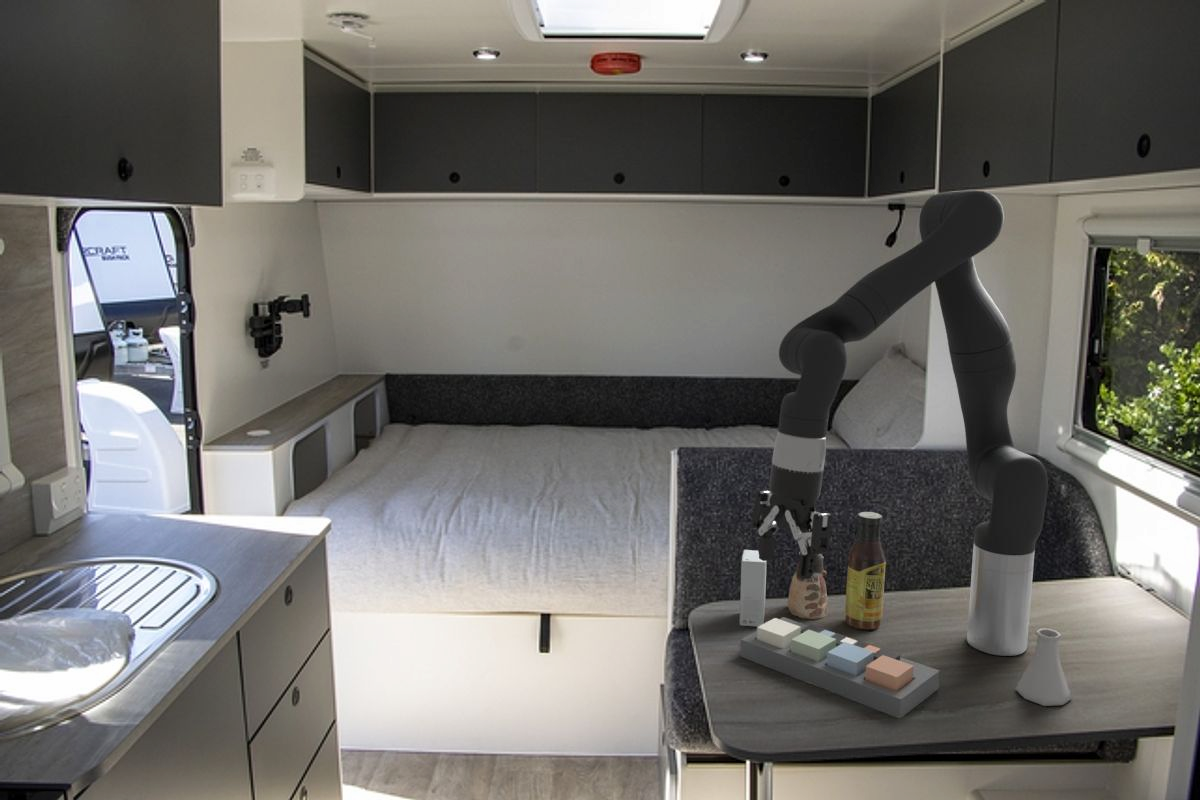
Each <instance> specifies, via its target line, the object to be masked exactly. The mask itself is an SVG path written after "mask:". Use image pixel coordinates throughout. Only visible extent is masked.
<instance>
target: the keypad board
mask: <svg viewBox="0 0 1200 800" xmlns="http://www.w3.org/2000/svg"><path fill="white" fill-rule="evenodd" d="M779 619H780V620H783V621H786V622H789V623H792V624H794V625H797V626H800V627H801V634H802V633H804V632H805V631H807V630H812V631H815V632H818V633H820V634H823V635H826V636H829V637H832V638H835V639H836V647H837V646H839V645H840V644H842V643H844V642H847V643H849V644H852V645H855V646H858V647H861V648H864V649H867V650H870V651H873V652H874V658H873V661H874V660H876V659H878V658H879V657H881V656H882V655H884V656H887V657H890V658H893V659H896V660H899V661H902V662H904V663H907V664H910V665H913V666H914V669H913V681H911V682H910V683H908V684H907V685H906V686H904V687H903V688H902V689H900V690H899V691H898V692H897V691H894V690H892V689H889V688H886V687H884V686H881V685H878V684H875V683H873V682H870V681H867V680H865V674H866V671H865V672H863V673H862V674H860V675H859V676H854V675H851V674H848V673H846V672H843V671H840V670H838V669H835V668H832V667H830V666H827V658H826V659H824V660H823V661H821V662H816V661H813V660H811V659H808V658H805V657H802V656H800V655H797V654H794V653H792V652H791V645H790V646H789V647H787V648H785V649H781V648H778V647H775V646H773V645H770V644H767V643H765V642H762V641H759V640H757V630H755V631H754V632H751V633H750V634H747V635H746V636H745V637H743V638H741V639H740V652H739V655H740V656H739V657H740V658H744V659H745V660H749V661H751V662H754V663H755V664H759V665H761V666H764V667H767V668H769V669H772V670H774V671H777V672H779V673H782V674H784V675H786V676H789V675H790V677H793V678H794V677H795V678H794V679H797V678H798V679H797V680H799V679H800V681H802V680H803V681H802V682H804V681H807V682H810V683H812V684H815V685H817V686H819V687H818V688H820V687H821V688H820V689H822V688H824V689H823V690H825V689H827V690H826V691H828V690H829V691H828V692H830V691H831V693H833V694H835V693H836V694H835V695H838V694H839V695H838V696H840V695H841V696H840V697H843V698H846V699H848V700H851V701H854V702H856V703H859V704H861V705H864V706H867V707H869V708H871V709H874V710H876V711H878V712H882V713H884V714H887V715H889V716H891V717H895V718H897V719H899V720H900V719H901V718H902V717H904V716H905V715H907V714H908V713H910V712H911V711H912V710H913V709H914V708H915V707H917V706H918V705H919V704H922V702H924V701H925V700H927V698H928V697H930V696H932V695H934V693H935V692H936V691H938V690H939V687H940V686H939V685H940V673H941V672H940V670H939V669H937V668H933V667H931V666H928V665H925V664H922V663H919V662H915V661H913V660H910V659H907V658H904V657H901V654H899V653H896V652H893V651H890V650H888V649H884V648H881V647H880V646H876V645H873V644H870V643H868V642H865V641H860V640H859V639H854V638H852V637H849V636H847V635H843V634H840V633H837V632H834V631H831V630H829V629H826V628H823V627H820V626H817V625H814V624H809V625H808V624H804V623H801V622H799V621H796V620H793V619H791V618H788V617H783V616H781V617H780V618H779ZM807 682H806V683H807ZM810 683H809V684H810ZM812 684H811V685H812ZM815 685H814V686H815ZM817 686H816V687H817Z"/></svg>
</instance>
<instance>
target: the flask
mask: <svg viewBox="0 0 1200 800" xmlns="http://www.w3.org/2000/svg"><path fill="white" fill-rule="evenodd" d="M1035 635H1036V637H1037V641H1036V646H1035V650H1034V652H1033V656H1032V657H1031V659H1030V661H1029V663H1028V664H1027V667H1026V669H1025V671H1024V672H1023V674H1022V676H1021V678H1020V679H1019V681H1018V683H1017V685H1016V687H1015V689H1014V690H1015V691H1016V692H1018V694H1020V695H1021V696H1022V697H1023V699H1025V700H1028V701H1030V702H1033V703H1036V704H1039V705H1040V706H1044V707H1047V706H1048V707H1050V706H1052V707H1053V706H1064V705H1065V704H1066V703H1068V702H1069V701H1070V700H1072V695H1071V692H1070V689H1069V685H1068V684H1067V680H1066V676H1065V673H1064V671H1063V668H1062V667H1063V666H1062V664H1061V661H1060V653H1059V640H1060V639H1061V638H1062V635H1061V634H1060V632H1058V631H1057V630H1054V629H1051V628H1047V627H1046V628H1039V629H1037V630H1036V631H1035Z"/></svg>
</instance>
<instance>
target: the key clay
mask: <svg viewBox="0 0 1200 800" xmlns="http://www.w3.org/2000/svg"><path fill="white" fill-rule="evenodd" d="M913 669H914V666H913V665H910V664H907V663H904V662H902V661H899V660H896V659H893V658H890V657H887V656H884V655H882V656H881V657H879V658H878V659H876V660H874V661H873V662H871V663H870V664H868V665H867V666H866V674H865V680H867V681H870V682H873V683H875V684H878V685H881V686H884V687H886V688H889V689H892V690H894V691H897V692H898V691H899V690H900V689H902V688H903V687H904V686H906V685H907V684H908V683H910V682H911V681H913Z"/></svg>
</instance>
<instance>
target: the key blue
mask: <svg viewBox="0 0 1200 800" xmlns="http://www.w3.org/2000/svg"><path fill="white" fill-rule="evenodd" d="M873 658H874V652H873V651H870V650H867V649H864V648H861V647H858V646H855V645H852V644H849V643H847V642H844V643H842V644H840V645H839V646H837V647H835V648H834V649H832V650H830V651H829V652H827V666H830V667H832V668H835V669H838V670H840V671H843V672H846V673H848V674H851V675H854V676H859V675H860V674H862V673H863V672H865V671H866V666H867V665H868V664H870V663H871V662H873Z"/></svg>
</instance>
